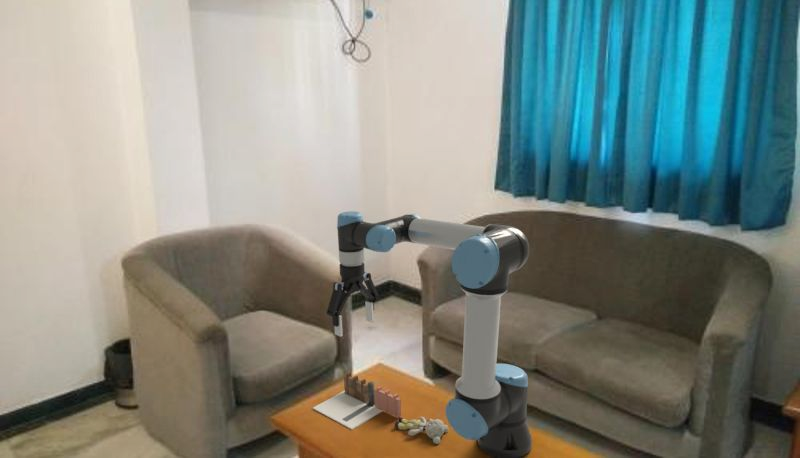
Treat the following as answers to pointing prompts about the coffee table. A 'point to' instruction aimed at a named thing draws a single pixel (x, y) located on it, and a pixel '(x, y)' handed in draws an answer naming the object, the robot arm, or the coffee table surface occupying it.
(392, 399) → the fence panel
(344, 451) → the coffee table surface
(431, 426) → the toy
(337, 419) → the card
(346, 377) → the fence fixed
